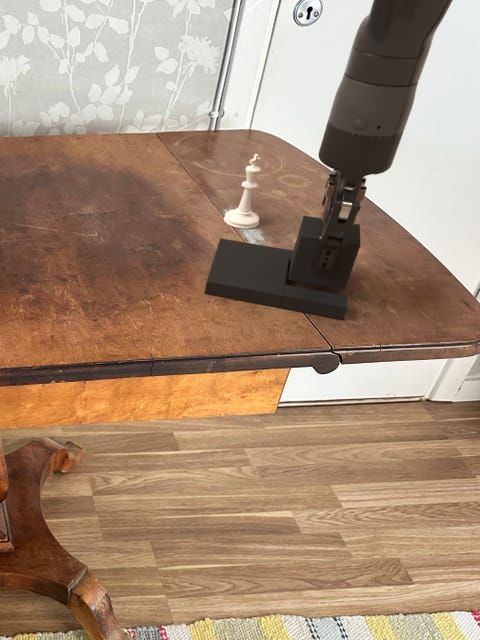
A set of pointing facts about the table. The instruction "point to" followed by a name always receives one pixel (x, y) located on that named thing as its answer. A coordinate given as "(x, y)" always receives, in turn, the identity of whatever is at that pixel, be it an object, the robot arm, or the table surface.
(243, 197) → the chess piece
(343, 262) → the pad piece
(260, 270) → the base pad
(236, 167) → the table surface
